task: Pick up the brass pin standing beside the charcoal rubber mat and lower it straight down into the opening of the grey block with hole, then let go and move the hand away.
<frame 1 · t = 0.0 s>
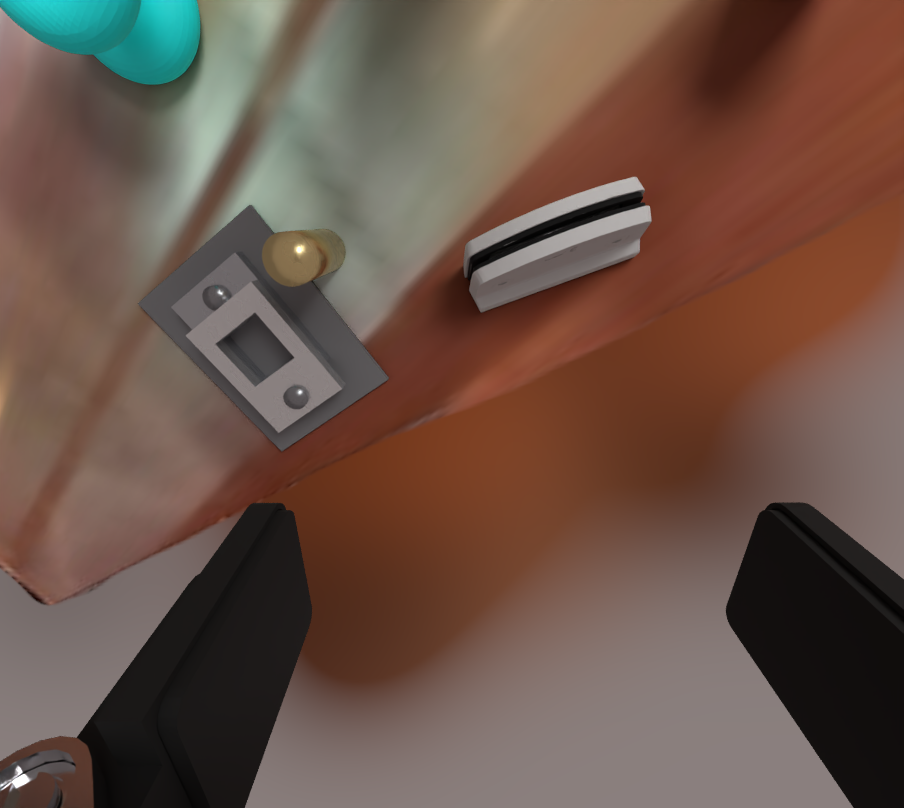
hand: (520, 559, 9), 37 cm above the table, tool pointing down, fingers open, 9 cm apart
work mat: (269, 341, 45), on the table
donuts: (146, 15, 35), on the table
brass pin: (325, 250, 42), on the table
hinge: (544, 247, 42), on the table
grey block with hole: (267, 342, 45), resting on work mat
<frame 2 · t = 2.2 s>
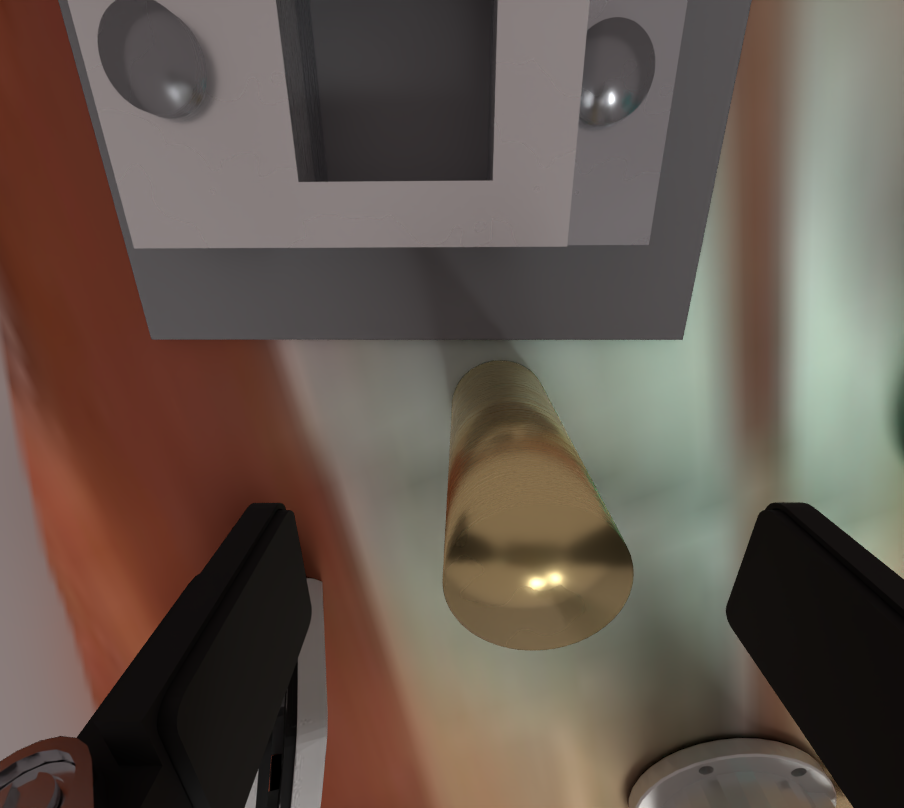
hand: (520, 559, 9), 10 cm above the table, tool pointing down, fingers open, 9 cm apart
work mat: (405, 100, 14), on the table
brass pin: (498, 405, 18), on the table
hinge: (290, 674, 25), on the table
grey block with hole: (403, 96, 14), resting on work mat
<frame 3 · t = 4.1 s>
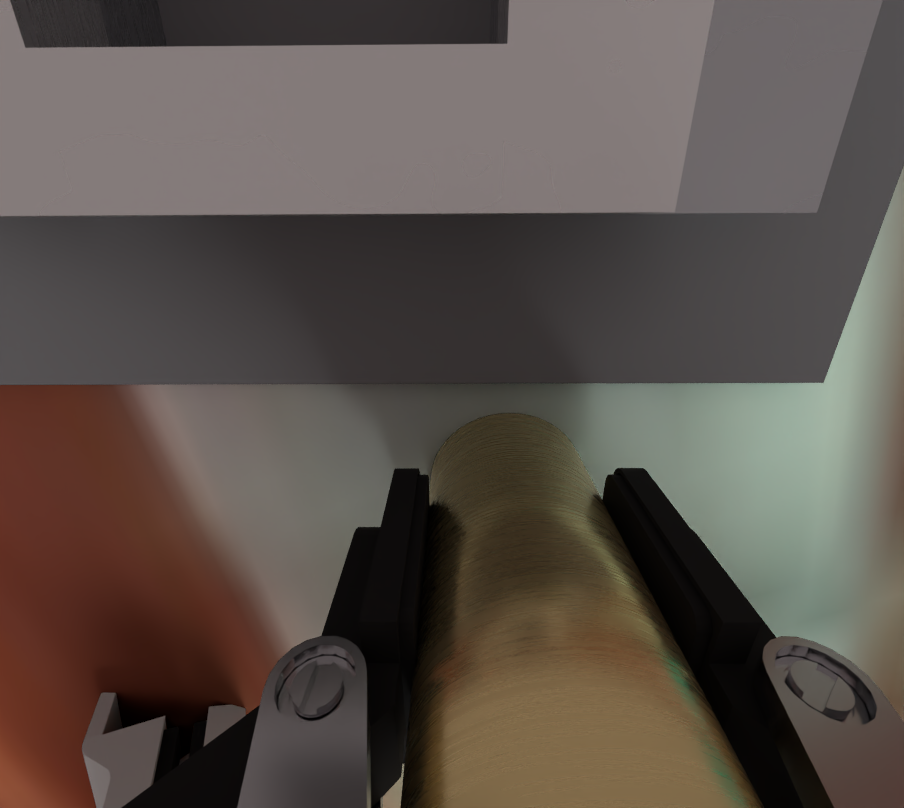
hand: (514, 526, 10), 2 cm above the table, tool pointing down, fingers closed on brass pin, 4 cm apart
brass pin: (505, 481, 11), on the table, touching gripper
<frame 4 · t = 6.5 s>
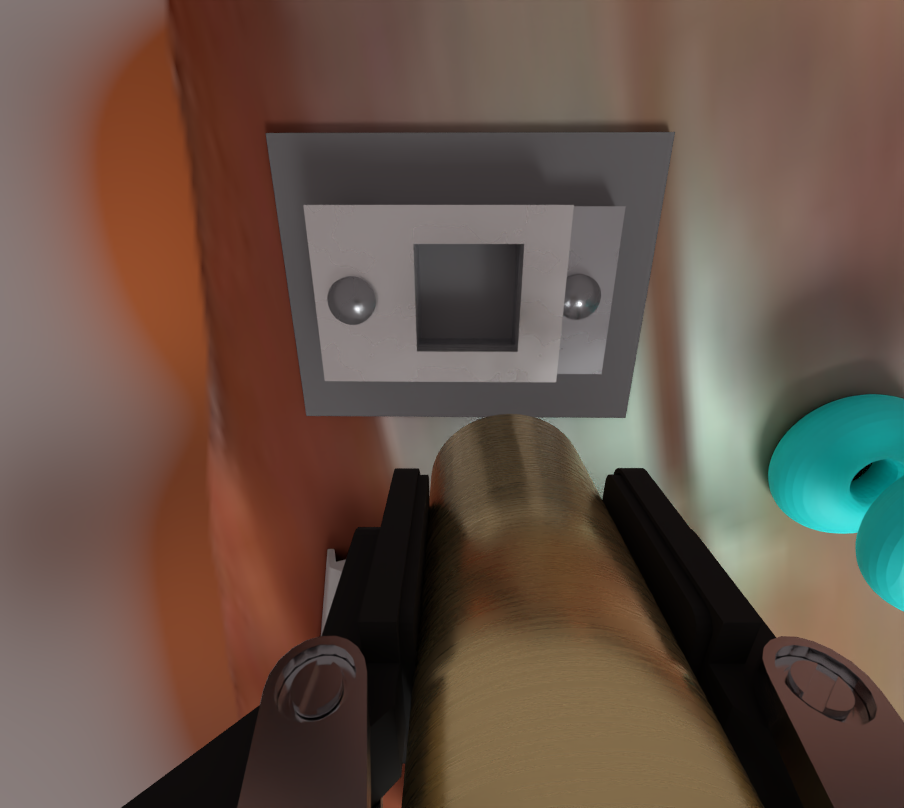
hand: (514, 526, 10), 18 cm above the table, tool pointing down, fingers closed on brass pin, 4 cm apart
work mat: (466, 291, 25), on the table
donuts: (831, 453, 29), on the table
brass pin: (506, 481, 11), point 16 cm above the table, touching gripper
hinge: (368, 624, 37), on the table
grey block with hole: (466, 292, 25), resting on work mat
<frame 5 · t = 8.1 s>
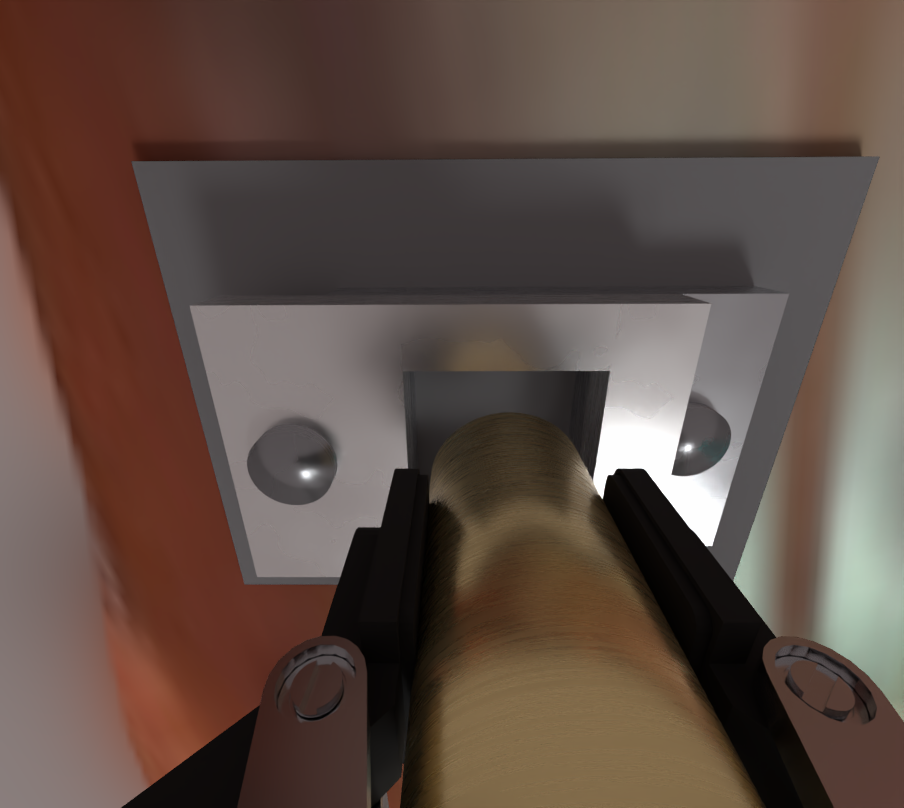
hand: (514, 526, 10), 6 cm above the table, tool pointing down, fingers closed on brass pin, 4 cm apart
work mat: (492, 411, 16), on the table
brass pin: (505, 480, 11), point 5 cm above the table, touching gripper
grey block with hole: (493, 416, 15), resting on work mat
when the fingers open (4 cm above the table, at t = 9.3 s): brass pin drops 2 cm, resting on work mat.
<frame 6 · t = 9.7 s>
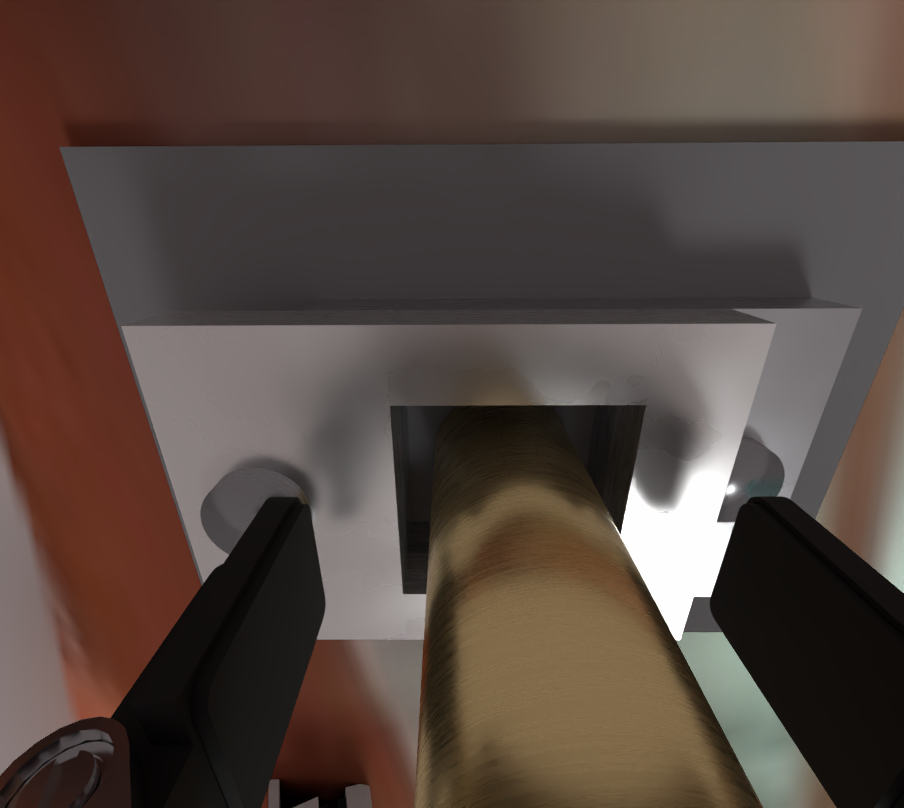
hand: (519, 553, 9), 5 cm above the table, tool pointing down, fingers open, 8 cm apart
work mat: (497, 440, 13), on the table
brass pin: (500, 449, 13), point 1 cm above the table, touching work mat
grey block with hole: (499, 448, 13), resting on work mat
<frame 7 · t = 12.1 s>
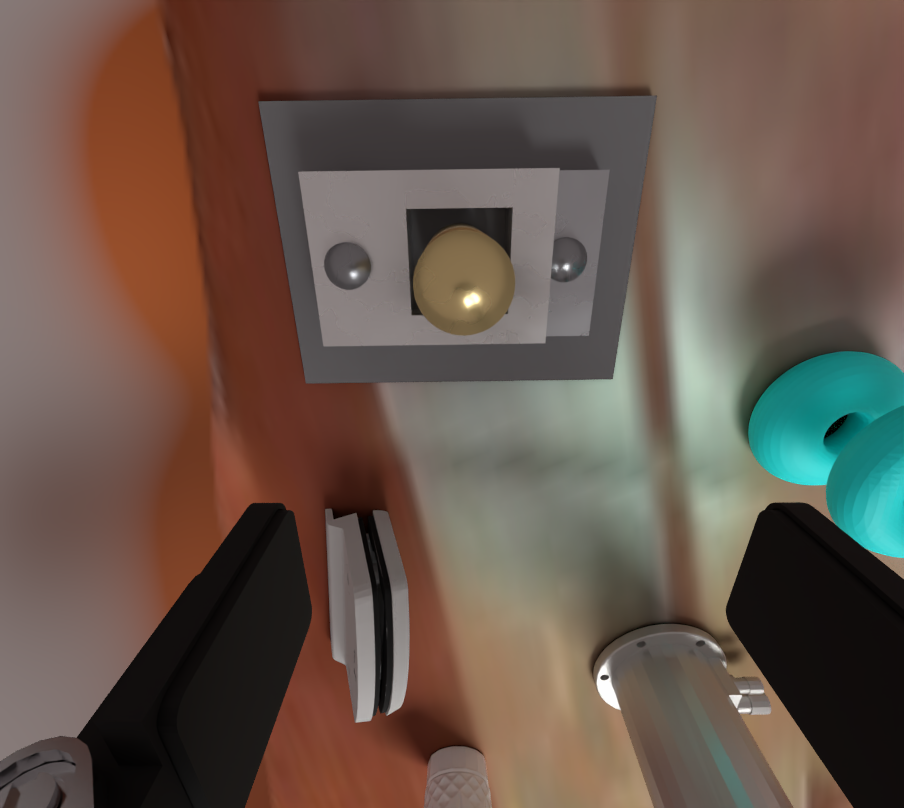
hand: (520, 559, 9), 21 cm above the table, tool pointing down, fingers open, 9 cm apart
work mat: (458, 257, 26), on the table
donuts: (808, 410, 31), on the table
white cup: (457, 759, 50), on the table
brass pin: (458, 258, 26), resting on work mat
hinge: (372, 580, 38), on the table
grey block with hole: (458, 258, 26), resting on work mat
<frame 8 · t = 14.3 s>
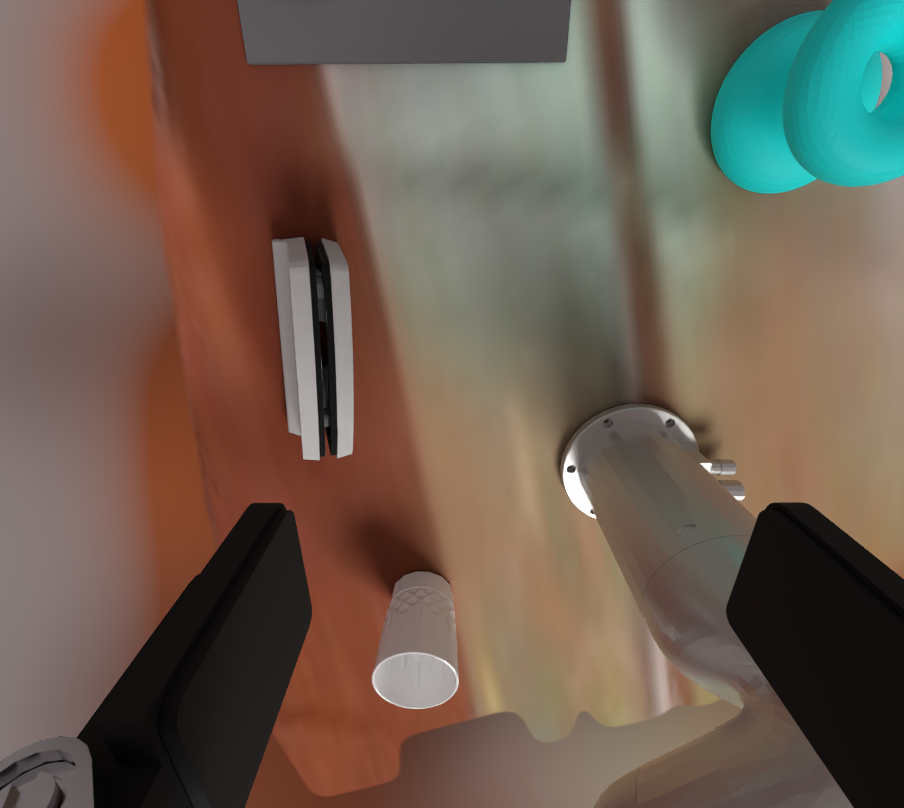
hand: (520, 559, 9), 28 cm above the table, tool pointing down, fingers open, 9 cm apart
donuts: (774, 115, 30), on the table
white cup: (422, 591, 48), on the table
hinge: (328, 341, 36), on the table
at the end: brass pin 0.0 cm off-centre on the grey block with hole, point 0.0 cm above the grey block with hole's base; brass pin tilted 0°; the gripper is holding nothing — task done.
